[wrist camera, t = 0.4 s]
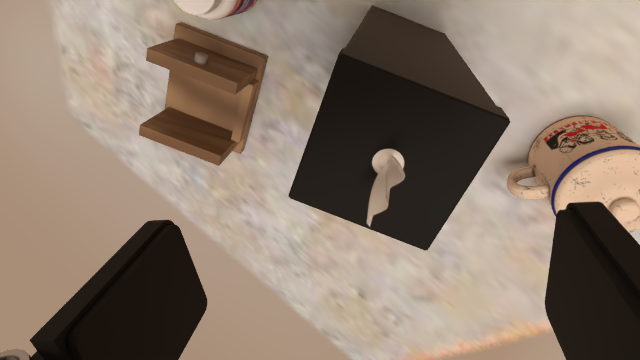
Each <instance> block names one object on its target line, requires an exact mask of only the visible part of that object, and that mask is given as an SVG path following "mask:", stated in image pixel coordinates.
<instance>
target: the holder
mask: <svg viewBox="0 0 640 360" xmlns="http://www.w3.org/2000/svg"><path fill="white" fill-rule="evenodd" d="M267 59H268V56H266V55H263V54H261V53H258V52H256V51H253V50H250V49H248V48H245V47H243V46H240V45H238V44H235V43H233V42H230V41H227V40H225V39H222V38H220V37H217V36H215V35H212V34H209V33H207V32H204V31H202V30H199V29H197V28H194V27H192V26H189V25H186V24H184V23H177V24H176V26H175V34H174V40H171V41H168V42H165V43H161V44H158V45H155V46H152V47H149V48H147V57H146V61H149V62H151V63H154V64H157V65H159V66H162V67H164V68H167V69H169V70H170V73H169V81H168V89H167V96H166V104H165V110H164V111H162V112H160V113H159V114H157V115H155V116H154V117H152V118H151V119H149V120H147V121H146V122H144V123H142V124H141V125H140V131H139V135H141V136H143V137H146V138H148V139H151V140H154V141H156V142H159V143H161V144H164V145H167V146H169V147H172V148H174V149H177V150H180V151H182V152H185V153H187V154H190V155H193V156H195V157H198V158H200V159H203V160H205V161H208V162H211V163H213V164H216V165H218V166H219V165H220V164H221V163H222V162H223V161H224V159H225V158H226V157H227V156H228V155H229V154H230V153H231V152H232V151H234V152H237V153H239V154H241V153H242V152H243V150H244V148H245V144H246V140H247V136H248V132H249V128H250V124H251V121H252V117H253V113H254V109H255V105H256V101H257V97H258V94H259V90H260V86H261V82H262V78H263V74H264V70H265V67H266V63H267Z"/></svg>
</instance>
